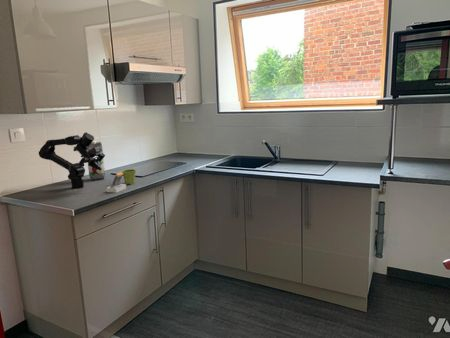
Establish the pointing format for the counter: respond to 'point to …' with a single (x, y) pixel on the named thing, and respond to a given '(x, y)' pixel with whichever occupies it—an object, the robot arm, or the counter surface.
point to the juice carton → (94, 172)
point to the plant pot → (129, 176)
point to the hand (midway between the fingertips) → (101, 169)
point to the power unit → (116, 188)
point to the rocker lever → (117, 178)
